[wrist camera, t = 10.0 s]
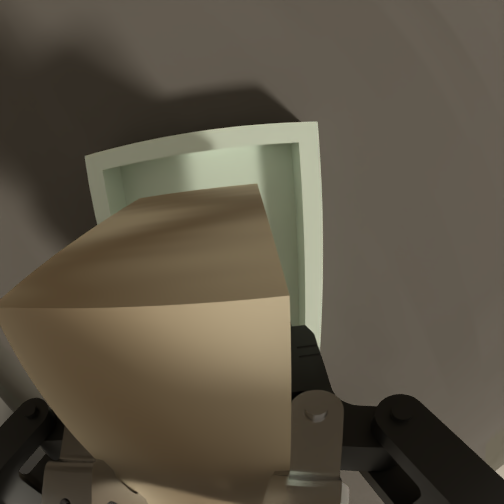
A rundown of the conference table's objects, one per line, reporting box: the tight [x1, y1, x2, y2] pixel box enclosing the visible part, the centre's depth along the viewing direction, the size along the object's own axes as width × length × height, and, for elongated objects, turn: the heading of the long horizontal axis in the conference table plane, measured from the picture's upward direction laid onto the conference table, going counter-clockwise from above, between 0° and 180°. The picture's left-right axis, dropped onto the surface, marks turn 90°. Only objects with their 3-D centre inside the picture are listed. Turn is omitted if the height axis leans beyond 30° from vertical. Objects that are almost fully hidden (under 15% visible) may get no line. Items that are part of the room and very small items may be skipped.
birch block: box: [0, 184, 291, 504], centre depth 8 cm, size 4×10×7 cm, turn 5°
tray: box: [85, 122, 323, 350], centre depth 14 cm, size 14×10×2 cm
